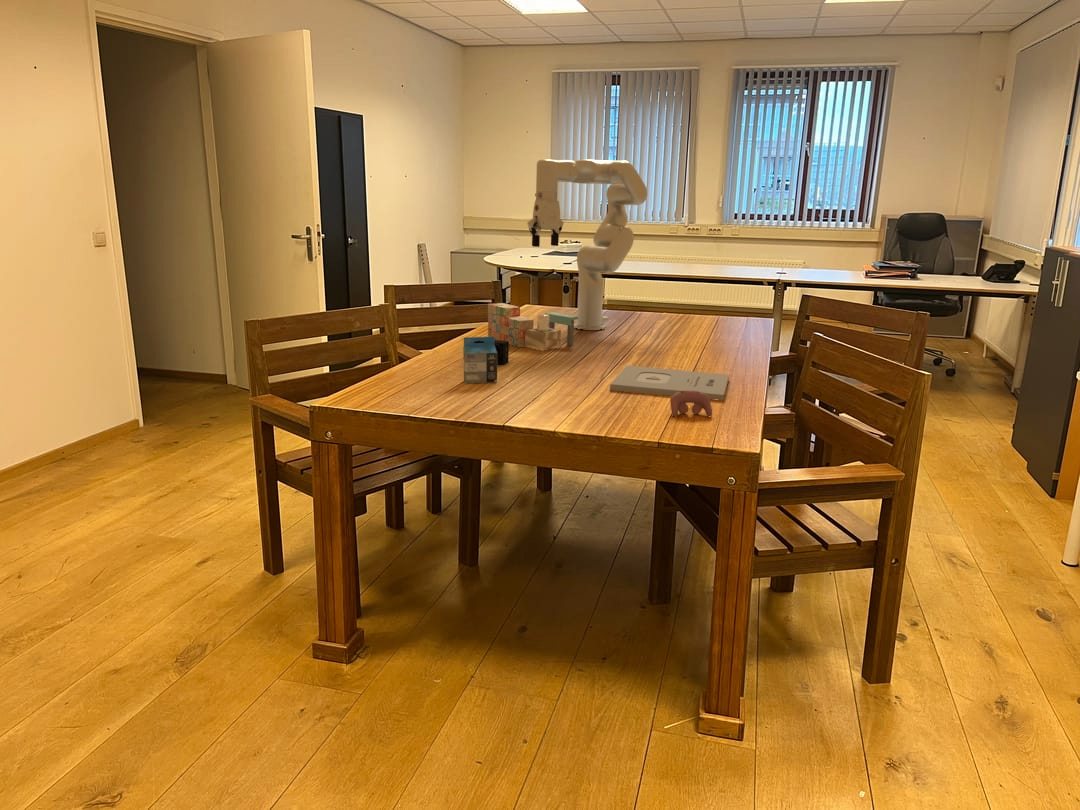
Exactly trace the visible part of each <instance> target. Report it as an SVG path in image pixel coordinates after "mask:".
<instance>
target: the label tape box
mask: <svg viewBox="0 0 1080 810" xmlns="http://www.w3.org/2000/svg"><path fill="white" fill-rule="evenodd" d="M494 338H495V337H488V336H471V337H468V336H467V337H463V349H462V350H463V352H462V353H463V354H462V355H463V381H465V382H466V383H468V384H483V383H487V384H488V382H489V383H497V382H498V365H497V351H496V348H495V345H494V340H495V339H494ZM478 340H480V341H484V343H474V342H475V341H478ZM465 382H464V383H465ZM466 383H465V384H466Z"/></svg>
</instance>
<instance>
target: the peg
mask: <svg viewBox="0 0 1080 810" xmlns="http://www.w3.org/2000/svg"><path fill="white" fill-rule="evenodd" d="M549 318H550V315H546V314H545V313H544V314H543V313H541V314H540V313H539V314H537V323H536V325H537V327H536V328H537V331H540V332H547V331H549Z"/></svg>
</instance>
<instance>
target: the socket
mask: <svg viewBox="0 0 1080 810" xmlns="http://www.w3.org/2000/svg"><path fill="white" fill-rule="evenodd" d="M561 335H562V330H561V329H556V328H555V329H551V328H549V331H547V332H540V331H537V327H536V328H534V327H533V329H527V330H525V347H524V348H526V347H527V348H526V349H530V348H532V350H535V349H536V351H539V350H541V352H545V351H550V350H549V349H551V350H556V349H560V348H561V343H562V342H561V341H562V339H561V338H562V336H561ZM555 348H556V349H555ZM544 350H545V351H544Z"/></svg>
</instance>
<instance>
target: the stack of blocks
mask: <svg viewBox="0 0 1080 810" xmlns="http://www.w3.org/2000/svg"><path fill="white" fill-rule="evenodd" d="M487 321H488V322H487V327H488V328H487V337H495V338H494V340H495V339H496V340H501V341H509V344H510V345H509V346H512V345H513V347H515V346H516V348H526V347H525V330H527V329H534V323H535V322H534V319H532V318H529V317H526V316H522V315H521V307H520V306H516V305H512V304H508V303H504V302H498V303H497V302H495V303H488V304H487Z"/></svg>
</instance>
